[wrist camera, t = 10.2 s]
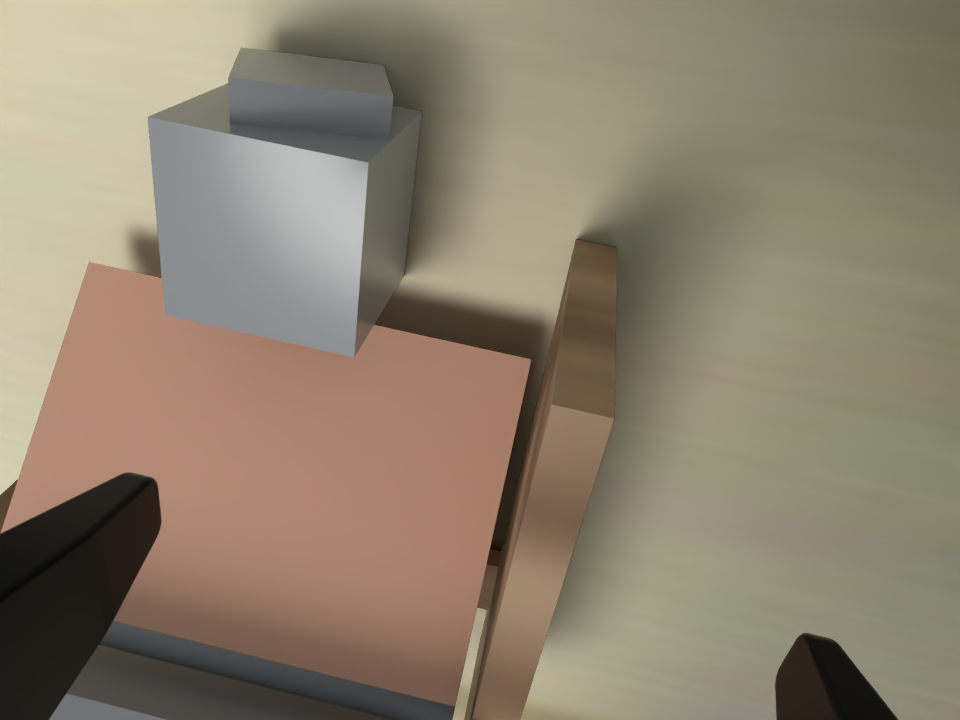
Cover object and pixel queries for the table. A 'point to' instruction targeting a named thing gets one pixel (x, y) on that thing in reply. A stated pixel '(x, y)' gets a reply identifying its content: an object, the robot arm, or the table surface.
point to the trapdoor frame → (544, 487)
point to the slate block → (286, 199)
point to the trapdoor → (278, 510)
